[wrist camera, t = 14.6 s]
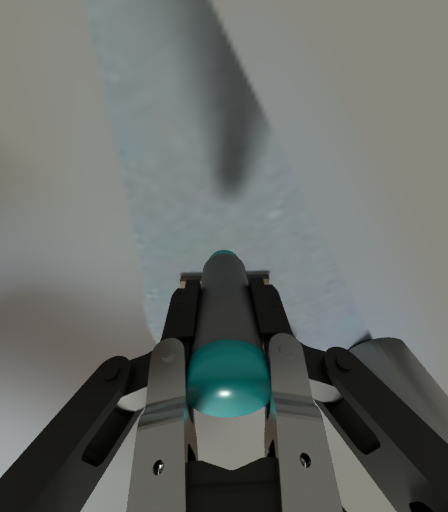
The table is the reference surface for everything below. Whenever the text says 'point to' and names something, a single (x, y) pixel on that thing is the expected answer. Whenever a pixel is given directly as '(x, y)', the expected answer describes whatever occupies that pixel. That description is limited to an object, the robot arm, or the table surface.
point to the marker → (227, 344)
